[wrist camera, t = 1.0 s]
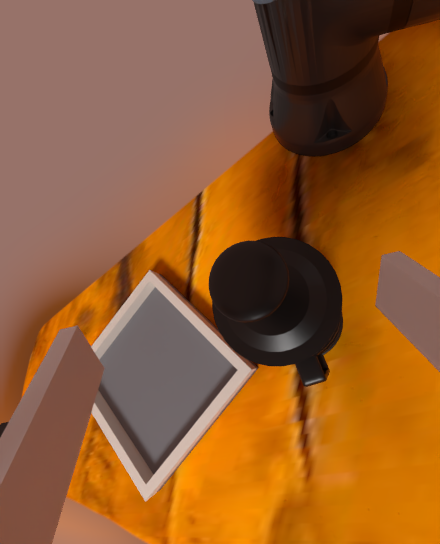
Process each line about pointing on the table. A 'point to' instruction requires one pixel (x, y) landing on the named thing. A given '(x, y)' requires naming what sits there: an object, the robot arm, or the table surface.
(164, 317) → the serving tray
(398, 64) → the table surface
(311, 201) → the table surface
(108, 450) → the table surface
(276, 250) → the french press
